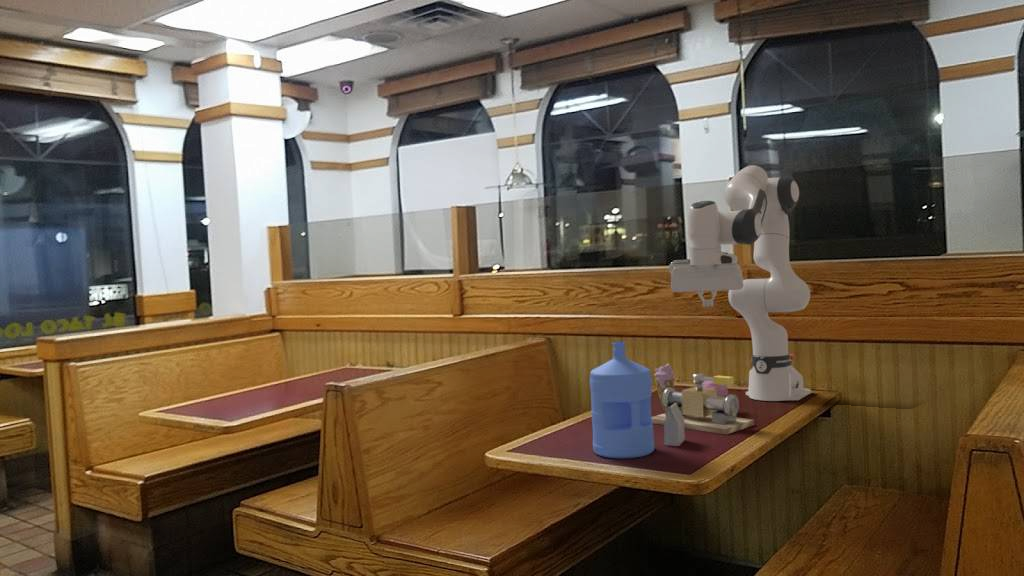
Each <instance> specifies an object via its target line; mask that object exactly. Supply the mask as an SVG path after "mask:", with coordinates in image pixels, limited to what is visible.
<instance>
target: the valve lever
mask: <svg viewBox="0 0 1024 576" xmlns="http://www.w3.org/2000/svg"><path fill="white" fill-rule="evenodd" d="M734 379H735V378H734V376H727V375H715V376H705V373H693V374H692V382H693V383H695V382H698V383H699V382H705V381H713V384H719V385H726V386H731V385H735V380H734Z"/></svg>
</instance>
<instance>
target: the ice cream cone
mask: <svg viewBox="0 0 1024 576" xmlns="http://www.w3.org/2000/svg"><path fill="white" fill-rule="evenodd" d="M654 371H655V373H654V374H653V377H654V380H655V386H656V390H657V393H658V396H659V400H660V404H661V406H662V410H663V412H665V406H664V405H663V402H662V395H663V392H664V390H665V389H666V388H674V384H675V378H674V375H675V374H674V373H675V371H674V370H673V369H672V367H671V364H670V363H667V364H665V365H664V366H660V367H656V368H655V369H654Z"/></svg>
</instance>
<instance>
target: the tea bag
mask: <svg viewBox="0 0 1024 576" xmlns="http://www.w3.org/2000/svg"><path fill="white" fill-rule="evenodd" d="M663 434H664V435H663V437H664V446H666V447H667V446H671V447H679V446H681V444H683V442H684V441H685V440H686V437H685V436H686V435H685V428H684V417H683V416H682V414H681V412H680V410H679V408H678V405H677V403H674V404H673V405H672V406H671V407H669V411H668V414H667V417H666V419H665V421H664V425H663Z"/></svg>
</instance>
